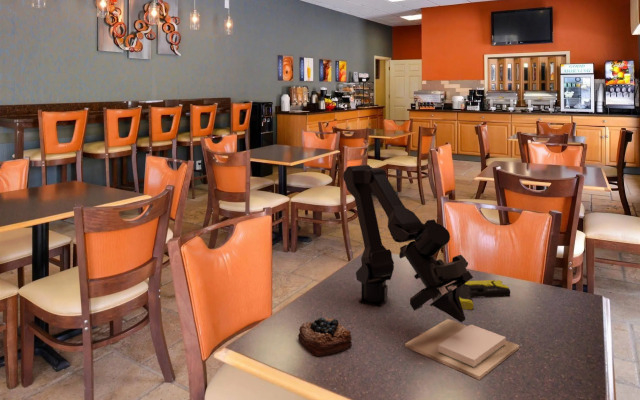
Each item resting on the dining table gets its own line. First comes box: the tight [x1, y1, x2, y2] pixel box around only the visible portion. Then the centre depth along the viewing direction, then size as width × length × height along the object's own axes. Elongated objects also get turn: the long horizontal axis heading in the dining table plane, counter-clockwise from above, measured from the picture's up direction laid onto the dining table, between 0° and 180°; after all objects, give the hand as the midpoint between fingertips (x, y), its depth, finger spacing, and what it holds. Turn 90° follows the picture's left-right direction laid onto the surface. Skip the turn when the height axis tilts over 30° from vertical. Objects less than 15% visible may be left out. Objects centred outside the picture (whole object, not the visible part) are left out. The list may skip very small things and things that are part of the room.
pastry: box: [297, 317, 352, 358], centre depth 119 cm, size 11×12×6 cm
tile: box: [438, 324, 507, 367], centre depth 114 cm, size 2×14×9 cm
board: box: [404, 318, 520, 381], centre depth 116 cm, size 19×18×1 cm
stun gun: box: [459, 279, 511, 311], centre depth 143 cm, size 3×19×15 cm
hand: (463, 321), depth 115 cm, fingers closed
